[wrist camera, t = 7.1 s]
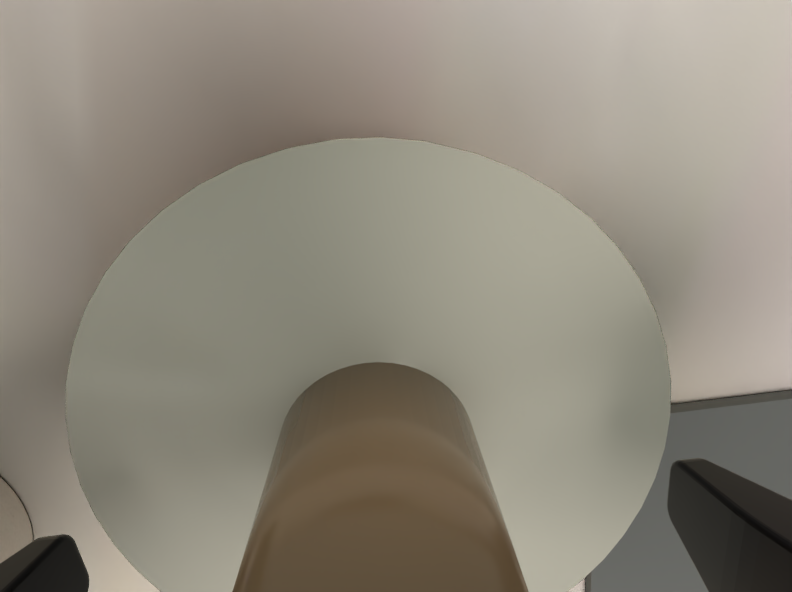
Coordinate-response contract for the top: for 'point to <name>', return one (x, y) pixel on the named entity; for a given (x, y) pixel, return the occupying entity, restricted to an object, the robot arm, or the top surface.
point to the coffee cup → (12, 523)
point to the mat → (718, 443)
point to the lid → (368, 380)
